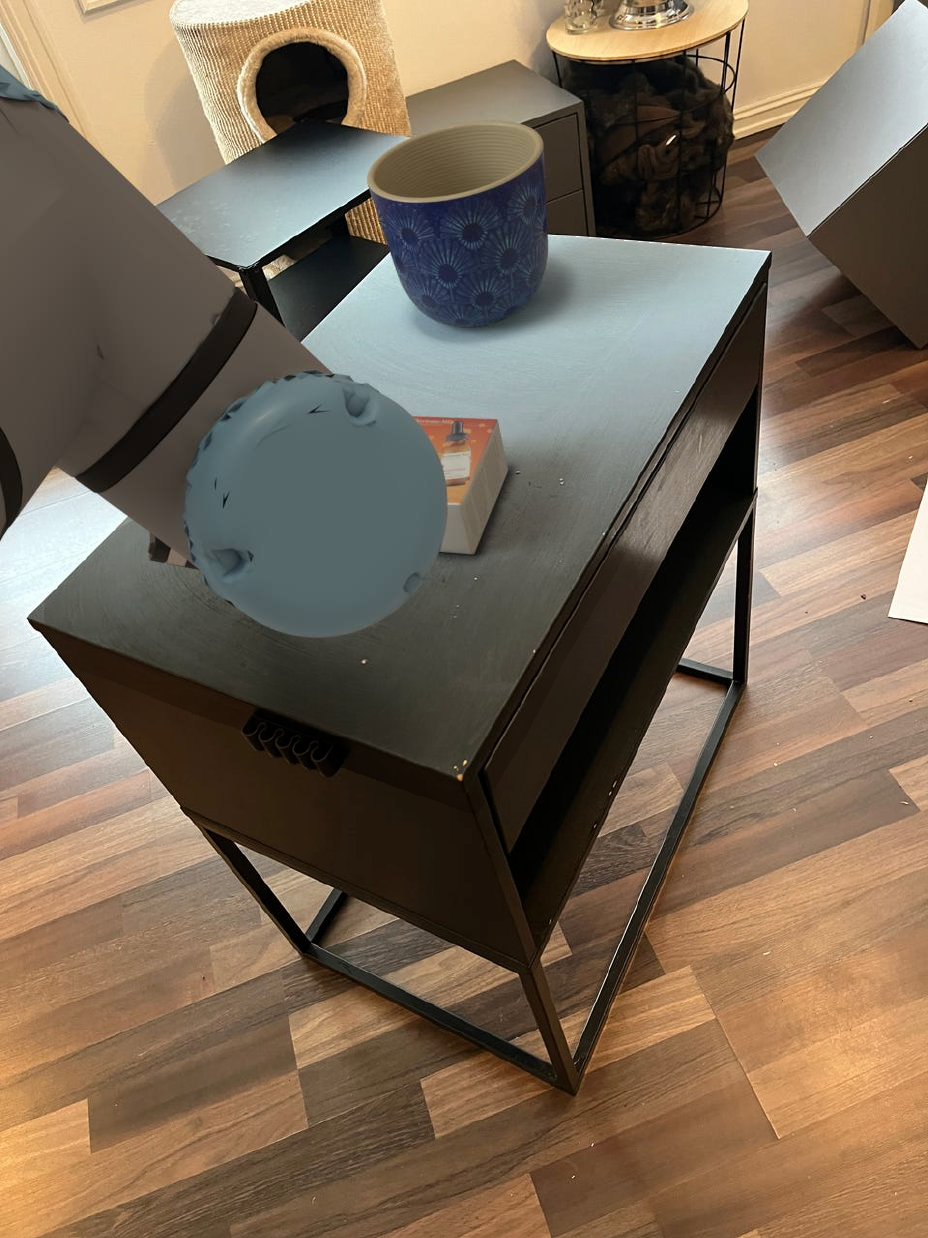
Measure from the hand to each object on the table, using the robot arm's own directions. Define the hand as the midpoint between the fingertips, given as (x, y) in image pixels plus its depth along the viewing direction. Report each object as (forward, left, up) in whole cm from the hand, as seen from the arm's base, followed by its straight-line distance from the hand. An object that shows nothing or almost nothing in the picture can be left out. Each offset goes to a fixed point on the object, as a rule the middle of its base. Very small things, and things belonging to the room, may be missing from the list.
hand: (160, 416), depth 59 cm
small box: (+13, +5, -16) cm, 21 cm away
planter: (+17, +42, -19) cm, 49 cm away
